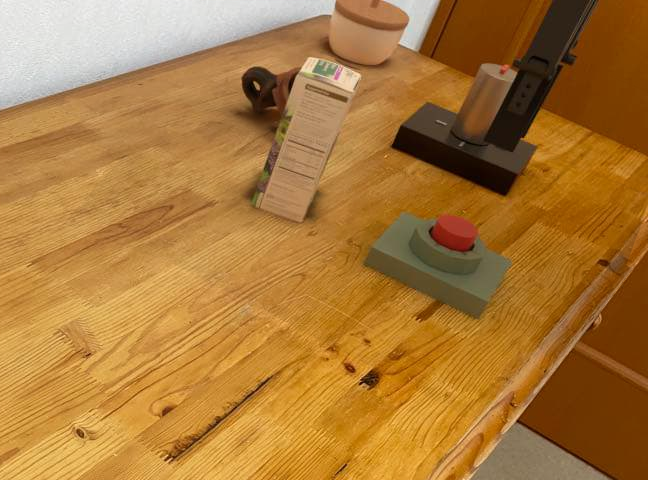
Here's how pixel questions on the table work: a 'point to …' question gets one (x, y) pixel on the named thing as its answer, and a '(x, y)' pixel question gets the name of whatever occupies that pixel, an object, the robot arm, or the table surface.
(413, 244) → the red push button box
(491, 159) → the panel
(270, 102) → the pottery mug
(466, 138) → the knob
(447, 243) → the button
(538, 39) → the robot arm
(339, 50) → the trinket box
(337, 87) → the syrup box
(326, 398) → the table surface
